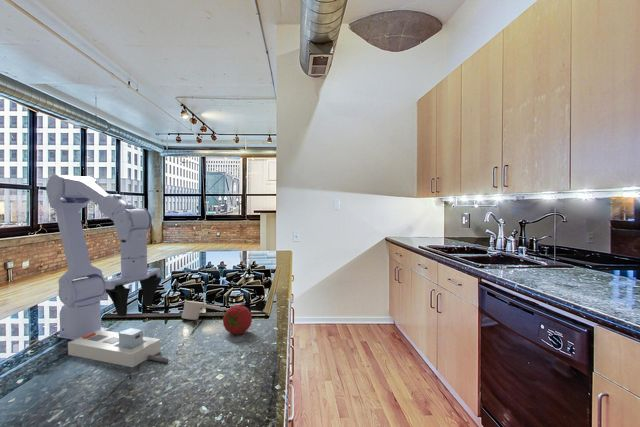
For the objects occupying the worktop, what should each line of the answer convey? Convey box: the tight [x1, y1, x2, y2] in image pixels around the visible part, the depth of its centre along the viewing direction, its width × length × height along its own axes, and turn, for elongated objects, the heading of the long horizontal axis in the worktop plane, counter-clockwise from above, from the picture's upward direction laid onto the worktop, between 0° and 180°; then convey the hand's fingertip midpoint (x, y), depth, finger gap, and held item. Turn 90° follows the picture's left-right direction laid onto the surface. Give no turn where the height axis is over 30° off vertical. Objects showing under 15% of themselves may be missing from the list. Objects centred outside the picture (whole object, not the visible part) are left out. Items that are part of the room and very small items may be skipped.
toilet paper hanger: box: [181, 300, 229, 320], centre depth 106 cm, size 20×5×16 cm
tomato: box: [222, 304, 253, 336], centre depth 90 cm, size 8×8×8 cm
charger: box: [118, 327, 144, 349], centre depth 77 cm, size 4×3×6 cm
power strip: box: [67, 330, 170, 368], centre depth 78 cm, size 26×8×4 cm, turn 72°
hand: (135, 310), depth 82 cm, fingers open, 7 cm apart
